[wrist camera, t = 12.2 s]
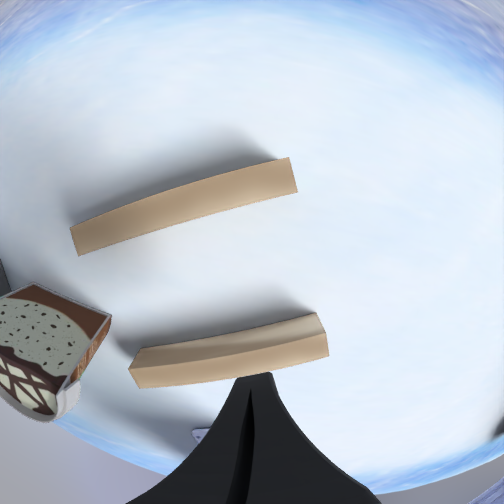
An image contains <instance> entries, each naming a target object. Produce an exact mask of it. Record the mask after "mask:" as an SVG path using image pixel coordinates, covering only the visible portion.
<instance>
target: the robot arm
mask: <svg viewBox="0 0 504 504" xmlns="http://www.w3.org/2000/svg"><path fill="white" fill-rule="evenodd" d="M192 435H193V437H194V438H195V440H196V441H197V442H198V445H197V447H196V448H195V449H194V450H193V451H192V453H191V454H190V455H189V456H188V457H187V458H186V459H185V460H184V461H183V462H182V463H181V464H180V465H179V466H178V467H177V468H176V469H175V470H174V471H173V472H172V473H171V474H169V475H168V476H167V477H166V478H164V479H163V480H162V481H161V482H159V483H158V484H157V485H155V486H154V487H153V488H151V489H150V490H148V491H147V492H145V493H144V494H142V495H140V496H138V497H137V498H135V499H133V500H131V501H129V502H128V503H126V504H381V502H380V501H379V500H378V499H377V498H376V497H375V495H374V494H373V493H372V492H371V491H370V490H369V489H368V488H367V487H366V486H364V485H363V484H361V483H359V482H358V481H356V480H355V479H353V478H352V477H351V476H349V475H348V474H346V473H345V472H344V471H342V470H341V469H340V468H339V467H337V466H336V465H335V464H334V463H333V462H331V461H330V460H329V459H328V458H327V457H326V456H325V455H324V454H323V453H322V452H321V451H319V450H318V449H317V448H316V446H315V445H314V444H313V443H312V442H311V441H310V440H309V439H308V438H307V437H306V435H305V434H304V433H303V432H302V431H301V429H300V428H299V427H298V425H297V424H296V423H295V421H294V420H293V418H292V417H291V416H290V414H289V413H288V411H287V409H286V408H285V406H284V404H283V402H282V401H281V399H280V397H279V395H278V391H277V388H276V385H275V381H274V378H273V375H272V373H270V372H265V373H260V374H255V375H250V376H244V377H239V378H237V379H236V380H235V383H234V385H233V387H232V389H231V391H230V394H229V396H228V398H227V400H226V402H225V404H224V405H223V407H222V409H221V411H220V413H219V414H218V416H217V418H216V420H215V421H214V423H213V424H212V426H211V427H210V428H208V429H195V430H192ZM468 504H504V477H503V478H501V479H500V480H499V481H498V482H497V483H495V484H494V485H493V486H491V487H490V488H489V489H488V490H486V491H485V492H484V493H482V494H481V495H480V496H478V497H477V498H475V499H474V500H472V501H471V502H469V503H468Z"/></svg>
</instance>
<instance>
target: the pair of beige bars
mask: <svg viewBox="0 0 504 504" xmlns="http://www.w3.org/2000/svg"><path fill="white" fill-rule="evenodd" d="M297 192H298V191H297V187H296V183H295V179H294V175H293V171H292V167H291V163H290V159H289V157H287V158H283V159H278V160H274V161H270V162H266V163H261V164H257V165H253V166H249V167H245V168H242V169H238V170H234V171H230V172H227V173H223V174H219V175H216V176H212V177H209V178H206V179H202V180H199V181H196V182H192V183H189V184H186V185H183V186H179V187H176V188H173V189H170V190H167V191H164V192H161V193H158V194H155V195H152V196H149V197H147V198H144V199H141V200H138V201H135V202H133V203H130V204H127V205H125V206H122V207H119V208H117V209H114V210H111V211H109V212H106V213H104V214H101V215H99V216H96V217H94V218H91V219H89V220H87V221H84V222H82V223H80V224H77V225H75V226H73V227H70V231H71V235H72V238H73V241H74V245H75V248H76V251H77V254H78V256H81V255H83V254H86V253H89V252H92V251H95V250H98V249H101V248H104V247H107V246H110V245H113V244H116V243H119V242H122V241H125V240H128V239H131V238H134V237H137V236H140V235H143V234H147V233H150V232H153V231H156V230H160V229H163V228H166V227H169V226H173V225H176V224H180V223H183V222H186V221H190V220H193V219H197V218H200V217H204V216H207V215H211V214H215V213H218V212H222V211H226V210H229V209H233V208H237V207H241V206H244V205H248V204H252V203H256V202H260V201H264V200H268V199H272V198H276V197H280V196H284V195H288V194H293V193H297ZM328 356H329V350H328V343H327V337H326V332H325V330H324V328H323V326H322V324H321V322H320V319H319V317H318V315H317V313H313V314H309V315H306V316H302V317H298V318H294V319H290V320H286V321H282V322H278V323H274V324H270V325H266V326H261V327H257V328H252V329H248V330H243V331H239V332H234V333H229V334H224V335H219V336H214V337H209V338H203V339H198V340H192V341H186V342H180V343H174V344H168V345H161V346H155V347H148V348H141V349H140V350H139V352H138V354H137V355H136V357H135V358H134V360H133V362H132V363H131V365H130V367H129V368H128V370H129V372H130V374H131V375H132V377H133V379H134V380H135V382H136V384H137V385H138V387H139V389H140V388H156V387H168V386H179V385H188V384H196V383H204V382H211V381H218V380H225V379H231V378H237V377H242V376H248V375H253V374H258V373H263V372H268V371H273V370H277V369H282V368H286V367H290V366H294V365H298V364H302V363H306V362H310V361H314V360H317V359H321V358H324V357H328Z"/></svg>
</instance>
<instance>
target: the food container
mask: <svg viewBox="0 0 504 504" xmlns="http://www.w3.org/2000/svg"><path fill="white" fill-rule="evenodd" d="M111 317H112V315H110V314H107V313H105V312H102V311H99V310H97V309H94V308H92V307H89V306H87V305H84V304H82V303H80V302H77V301H75V300H72V299H70V298H68V297H66V296H63V295H61V294H59V293H57V292H54V291H52V290H50V289H48V288H46V287H44V286H41V285H39V284H37V283H35V282H32V283H30V284H28V285H25V286H23V287H21V288H19V289H17V290H14V291H12V292H10V293H8V294H6V295H4V296H2V297H0V397H1V398H2V399H3V400H5V402H7V403H8V404H9V405H10V406H11V407H13V408H14V409H15V410H17V411H18V412H19V413H21V414H22V415H24V416H26V417H28V418H30V419H32V420H35V421H38V422H42V423H49V422H52V421H54V420H56V419H59V418H61V417H62V416H63V415H65V414H66V413H67V412H68V411H70V410H71V409H72V408H73V407H74V406H75V405H76V404H77V402H78V400H79V397H80V390H81V387H80V377H81V376H82V374H83V372H84V370H85V369H86V367H87V365H88V364H89V362H90V361H91V359H92V357H93V356H94V354H95V352H96V351H97V349H98V348H99V346H100V344H101V343H102V341H103V340H104V338H105V337H106V335H107V333H108V331H109V328H110V325H111Z"/></svg>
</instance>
